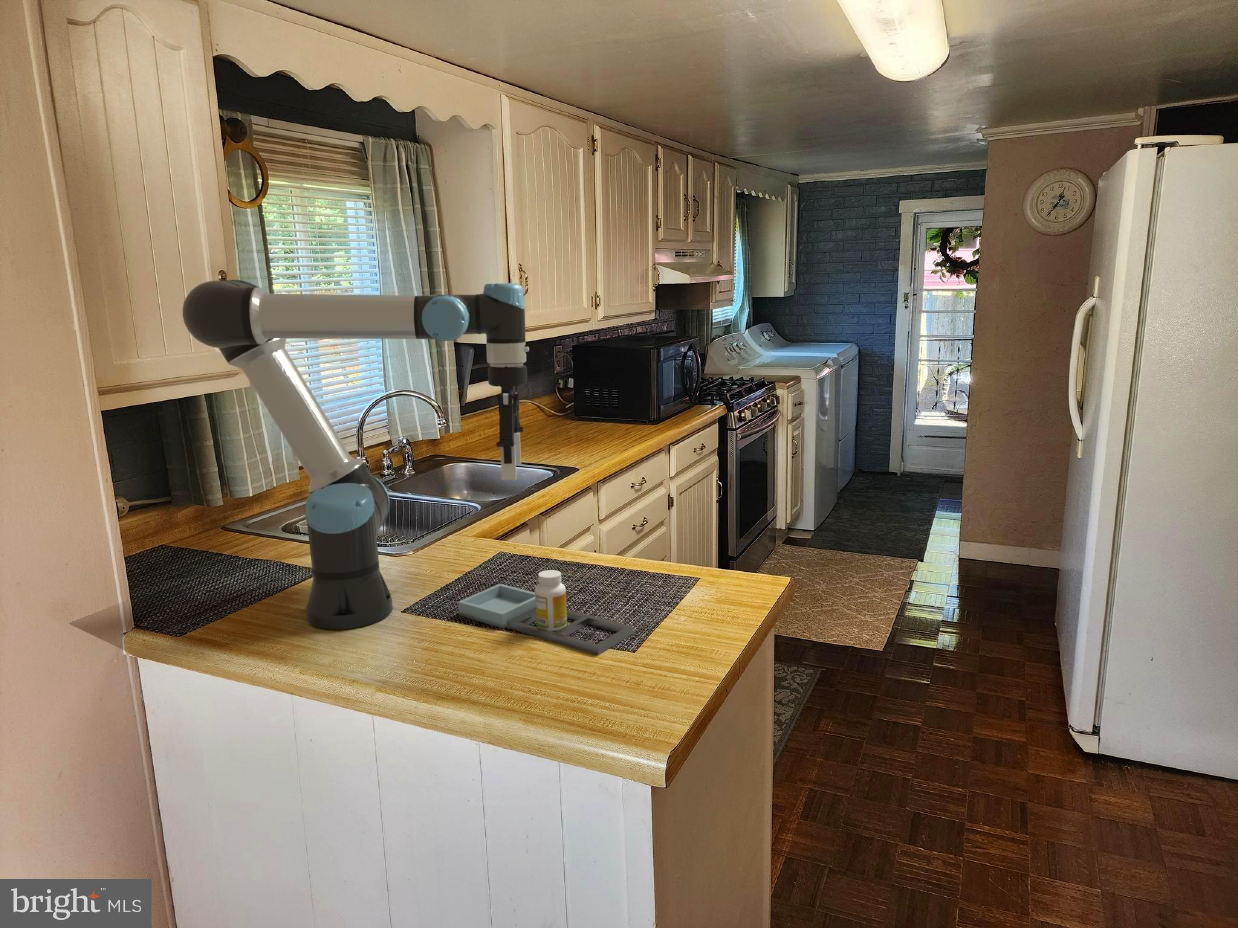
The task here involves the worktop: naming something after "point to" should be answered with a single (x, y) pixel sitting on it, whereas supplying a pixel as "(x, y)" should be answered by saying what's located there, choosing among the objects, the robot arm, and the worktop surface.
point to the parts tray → (497, 605)
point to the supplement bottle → (550, 601)
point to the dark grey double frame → (572, 630)
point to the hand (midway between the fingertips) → (511, 471)
